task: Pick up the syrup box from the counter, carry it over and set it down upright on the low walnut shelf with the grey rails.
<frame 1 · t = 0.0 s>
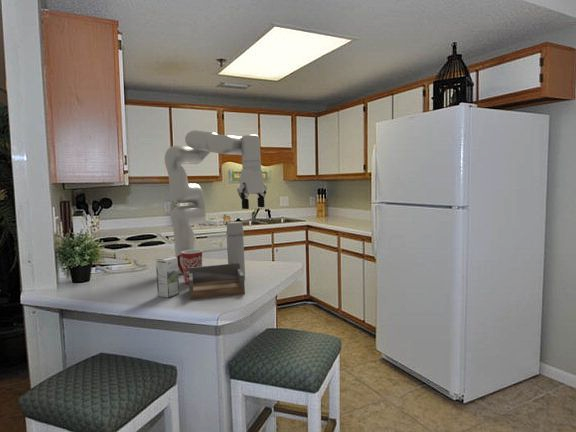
hand: (253, 208, 161), 31 cm above the countertop, tool pointing down, fingers open, 9 cm apart
mug: (190, 282, 169), on the countertop
water bottle: (238, 280, 170), on the countertop
shelf: (216, 291, 152), on the countertop
syrup box: (168, 295, 150), on the countertop
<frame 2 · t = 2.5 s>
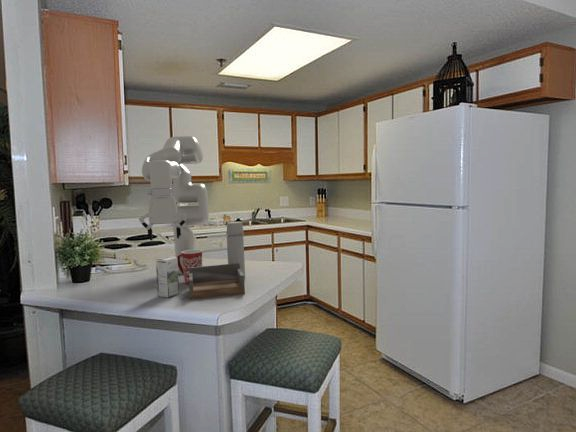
hand: (164, 238, 148), 22 cm above the countertop, tool pointing down, fingers open, 9 cm apart
nothing on the countertop moved.
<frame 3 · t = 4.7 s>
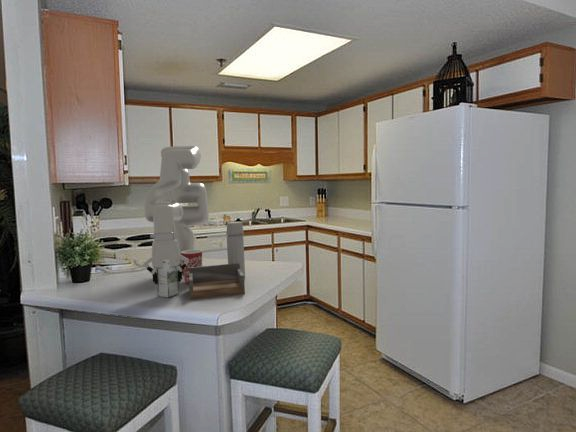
hand: (168, 282, 149), 5 cm above the countertop, tool pointing down, fingers closed on syrup box, 8 cm apart
syrup box: (168, 295, 150), on the countertop, touching gripper
everything else where it was.
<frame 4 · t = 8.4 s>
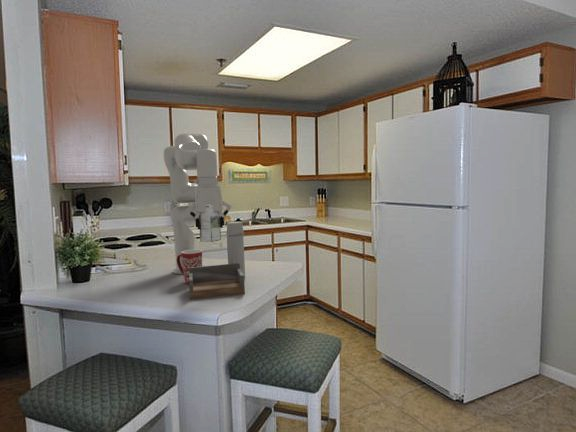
hand: (210, 228, 150), 25 cm above the countertop, tool pointing down, fingers closed on syrup box, 8 cm apart
syrup box: (210, 241, 150), point 20 cm above the countertop, touching gripper
everything else where it was.
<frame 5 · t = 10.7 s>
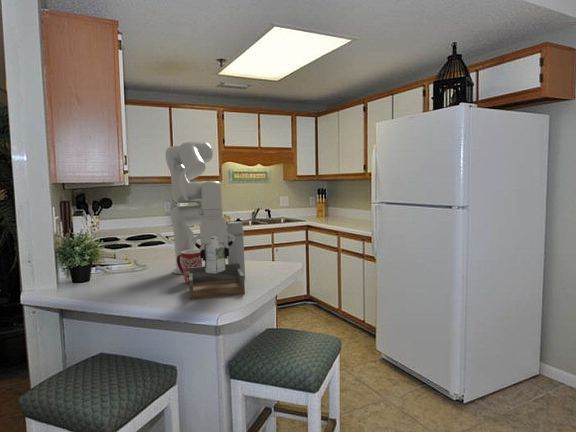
hand: (215, 258, 151), 13 cm above the countertop, tool pointing down, fingers closed on syrup box, 8 cm apart
syrup box: (215, 272, 151), point 8 cm above the countertop, touching gripper
everything else where it was.
when the fingers open (10 cm above the countertop, at t = 12.4 s): syrup box drops 2 cm, resting on shelf.
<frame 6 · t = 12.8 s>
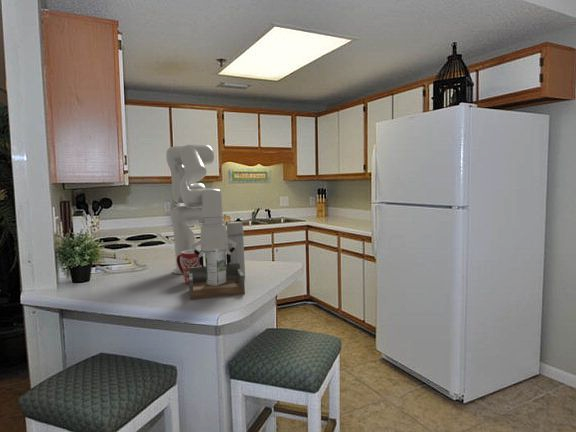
hand: (215, 265, 151), 10 cm above the countertop, tool pointing down, fingers open, 9 cm apart
syrup box: (217, 284, 152), point 3 cm above the countertop, touching shelf
everything else where it was.
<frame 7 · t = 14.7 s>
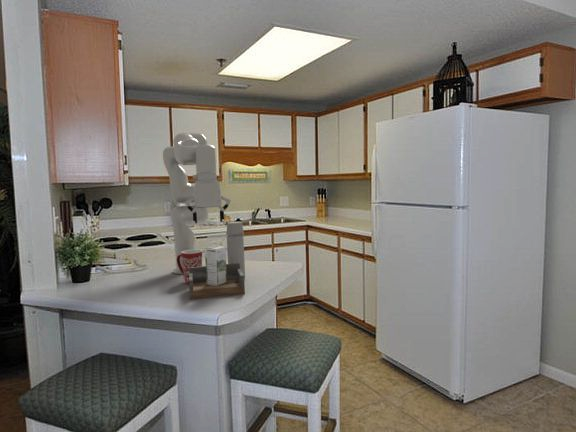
hand: (208, 222, 152), 27 cm above the countertop, tool pointing down, fingers open, 9 cm apart
nothing on the countertop moved.
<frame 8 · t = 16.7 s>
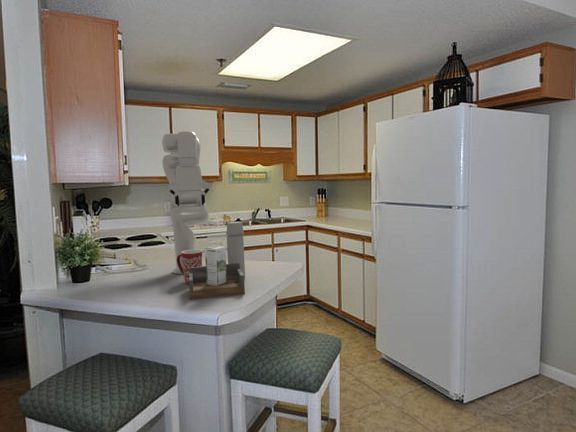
hand: (190, 205, 159), 33 cm above the countertop, tool pointing down, fingers open, 9 cm apart
nothing on the countertop moved.
at the end: syrup box inside the target area on the shelf (0.2 cm from its centre), point 2.8 cm above the shelf's base; syrup box tilted 0°; the gripper is holding nothing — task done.
